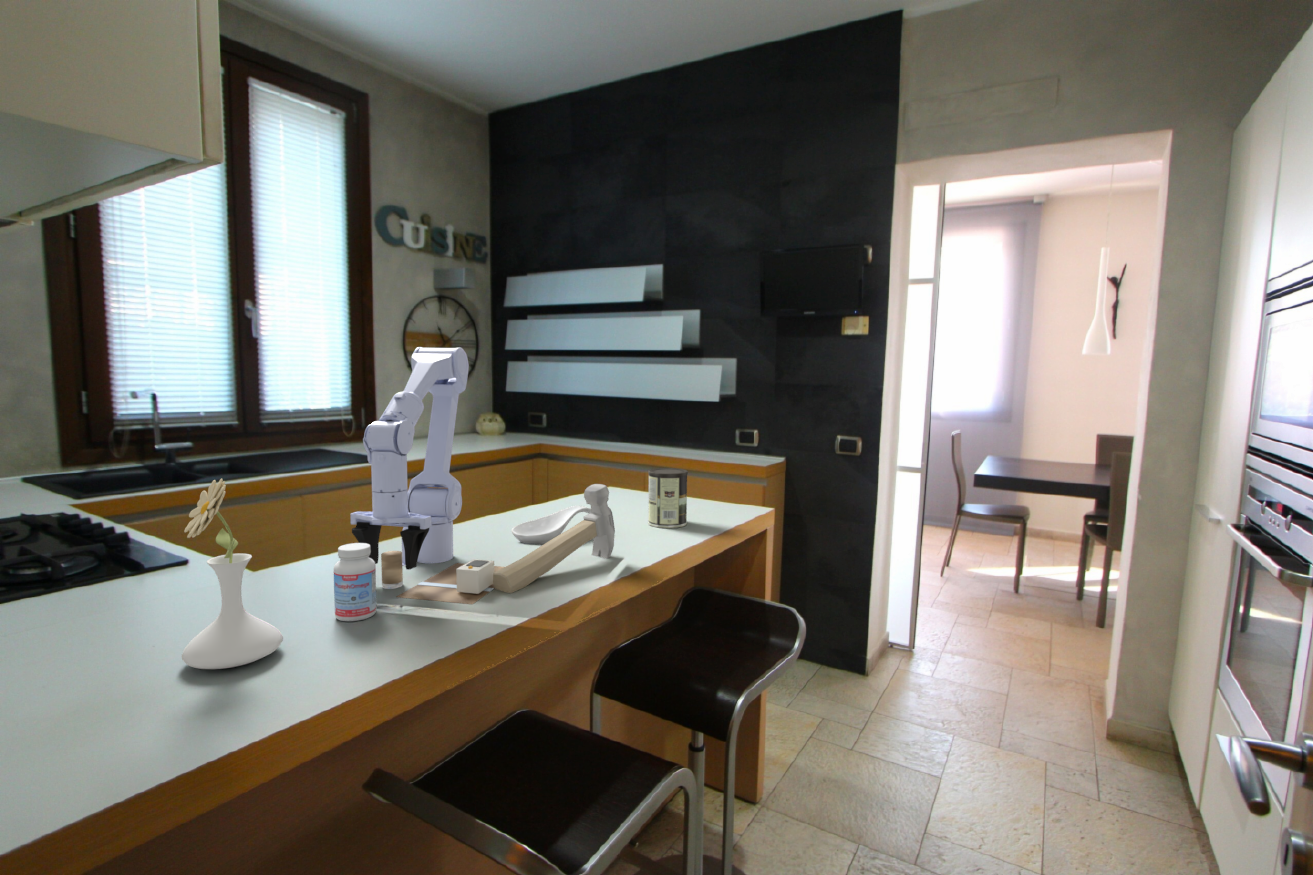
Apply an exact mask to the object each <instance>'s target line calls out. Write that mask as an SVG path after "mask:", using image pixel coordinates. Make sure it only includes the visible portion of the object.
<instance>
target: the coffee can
mask: <svg viewBox="0 0 1313 875" xmlns="http://www.w3.org/2000/svg"><path fill="white" fill-rule="evenodd" d="M688 472H689V471H688V470H687V469H682V468H677V467H676V468H675V467H674V468H671V467H663V468H662V467H660V468H652V469H648V473H647V474H648V520H647V521H648V522H647V524H648V525H649V526H651V527H655V528H659V529H676V528H683V527H686V526H687V524H688V523H687V515H688V514H687V513H688V512H687V510H688V509H687V507H688V498H687V496H688Z"/></svg>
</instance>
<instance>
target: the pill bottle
mask: <svg viewBox="0 0 1313 875" xmlns="http://www.w3.org/2000/svg"><path fill="white" fill-rule="evenodd" d="M370 553H371V549H370V545H369V544H367V543H359V542H354V543H353V542H351V543H346V544H343V545H340V546H339V547H338V548H337V557H338V559H340V560H338V561H337V562H336V563H334V566H333V593H334V595H333V596H334V599H333V600H334V602H333V603H334V616H335V618H336V619H337V620H338V621H341V622H358V621H363V620H366V619H369V618H371V617H373V616H374V615H375V613H376V612H377V578H376V577H377V574H376V572H377V570H376V569H377V568H376V565H377V564H375V562H374V560H373V559H371V558H369V555H370Z"/></svg>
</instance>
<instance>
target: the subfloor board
mask: <svg viewBox="0 0 1313 875" xmlns="http://www.w3.org/2000/svg"><path fill="white" fill-rule="evenodd" d="M464 564H465V563H461V562H455V563H454V564H453V565H450V566H449V567H447V568H445V569H443V570H441V571H440V572H437V573H436V574H434V575H433V576H431V577H429V578H427V579H425V580H424V581H421V582H419V583H417V584H416V585H414V586H412V587H411V588H409V589H407V590H405V591H404V592H401V593H400V594H399V595H396V596H395V598H400V599H401V598H402V599H411V600H412V599H413V600H423V601H432V602H441V603H442V602H443V603H454V604H463V605H474V604H476V602H478V601H479V600H480V599H482V598H484V597H486V595H488V594H489V593H490V592H492V591H493V590H496V589H495V587H494V584H492V585H490V586H489V587H488V588H486V589H485V590H483V591H482V592H480V593H479V594H475V593H464V592H457V572H456V569H457V568H459V567H461V566H463V565H464ZM504 567H505V566H498V565H494V572H496V571H498V570H500V569H502V568H504Z"/></svg>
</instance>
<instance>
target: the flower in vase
mask: <svg viewBox="0 0 1313 875" xmlns="http://www.w3.org/2000/svg"><path fill="white" fill-rule="evenodd" d="M226 486H227V485H226V481H225V480H223V478H220V479H219V481H218V482H217V481H216V479H214V480H212V481H211V484H210V485H209V486H208V489H207V491H206V490H202V491H201V493H200V495H199V500H198V501H197V503H196V506H197V507H195V508H193V509H191V511H190V512H189V514H188V517H189V518H191V520H190V521H189V522H188V524H187V526H186V527H185V528H184V531H183V532H184V533H188V532H189V533H188V534H187V536H186V538H187V539H190V538H191V537H192V538H195V537H197V536H199V535H200V534H202V532H203V531H205V530H206V528H208V525H210V523H211V522H212V520H213V518H214V517H215V515H216V516H217V517H218V518H219V520H220V522H222V524H223V526H224V527H225V529H226V530H225V529H224V528H221V529H220V530H219V532H218V533H217V535H216V537H215V543H216V544H217V545H219V546H221V547H222V548H223V549H225V550H227V551H226V553H225V554H221V555H218V556H214V557H211V558H210V559H207V560H206V564H207V565H208V566H209V567H211V569H212V570H213V571H214V574H215V575H216V576H217V579H218V583H219V587H220V594H221V608H220V612H219V613H218V616H216V618H215V619H214V620H213V621H212V622H211V623H210V624H208V625H207V626H206V627H205V628H203V629H202V630H201V631H200V632H199V633H198V634H196V635H195V636H194V637H193V638H192V639H191V640H190V641H189V642H188V644H187V645H186V646H185V647H184V649H183V650H182V654H181V660H182V661H183V662H184V663H185V664H186V665H187V666H188V667H191V668H195V669H201V670H222V669H230V668H235V667H240V666H244V665H248V664H251V663H253V662H255V661H258V660H260V659H263V658H264V657H267V656H269V655H270V654H273V653H274V652H275V651H277V650H278V648H280V646H281V644H282V642H283V641H284V636H283V634H282V632H281V631H280V629H278V628H277V627H276V626H274V625H272V624H271V623H269V622H267V621H265V620H263V619H261V618H258V617H256V616H255V615H252V614H251V613H249V612H248V611H246V609H245V607H244V605H243V598H242V587H243V586H242V583H243V576H244V572H245V569H246V567H247V566H248V563H249V562H250V561H251V559H252V558H253V556H252V554H249V553H234V550H235V549H236V548H237V546H238V545H239V541H237V539H236V538H234V537H233V533H232V530H231V528H230V526H229V524H228V523H227V521H226V520H225V518H224V516H222V514H221V512H220V511H219V509H220V506H221V505H222V503H223V499H224V497H225V495H226ZM192 518H193V519H192Z"/></svg>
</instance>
